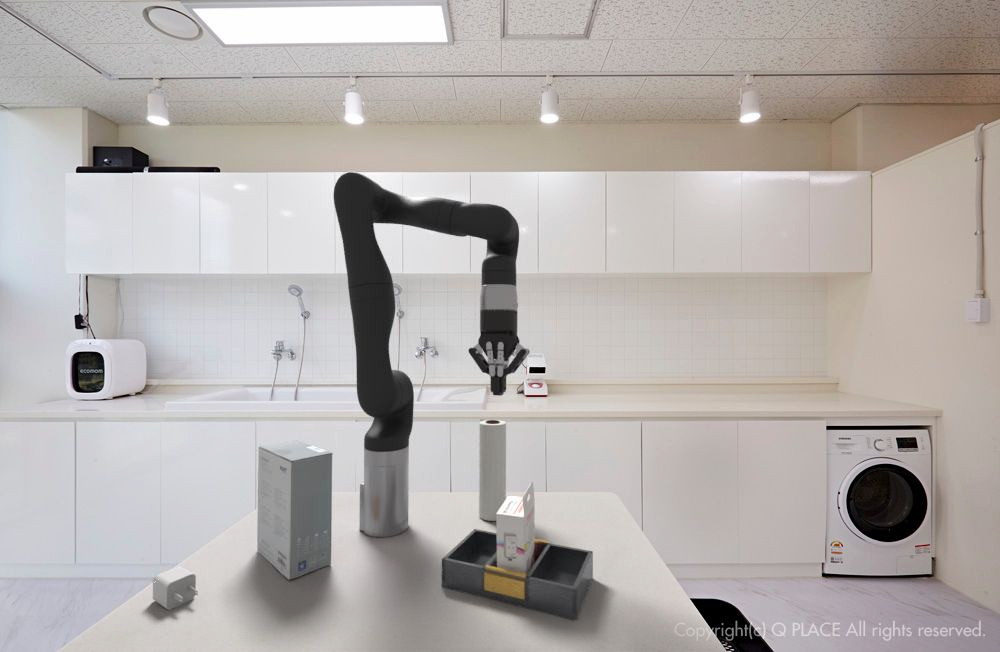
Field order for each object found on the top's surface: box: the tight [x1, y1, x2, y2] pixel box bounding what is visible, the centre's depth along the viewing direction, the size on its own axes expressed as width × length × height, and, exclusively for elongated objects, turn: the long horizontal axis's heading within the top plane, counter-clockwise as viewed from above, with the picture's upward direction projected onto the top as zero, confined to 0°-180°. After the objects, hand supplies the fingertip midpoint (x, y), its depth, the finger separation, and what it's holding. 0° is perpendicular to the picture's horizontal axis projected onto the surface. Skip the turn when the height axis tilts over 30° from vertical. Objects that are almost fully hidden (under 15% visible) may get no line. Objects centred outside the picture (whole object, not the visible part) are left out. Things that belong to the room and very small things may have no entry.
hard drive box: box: [256, 439, 333, 581], centre depth 83 cm, size 16×8×20 cm, turn 47°
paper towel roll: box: [478, 418, 507, 522], centre depth 102 cm, size 7×6×21 cm
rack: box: [441, 528, 594, 621], centre depth 75 cm, size 22×13×5 cm, turn 67°
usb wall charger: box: [152, 565, 199, 611], centre depth 69 cm, size 4×7×4 cm, turn 59°
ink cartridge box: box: [495, 481, 536, 574], centre depth 75 cm, size 9×5×15 cm, turn 166°
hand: (498, 394), depth 90 cm, fingers closed
